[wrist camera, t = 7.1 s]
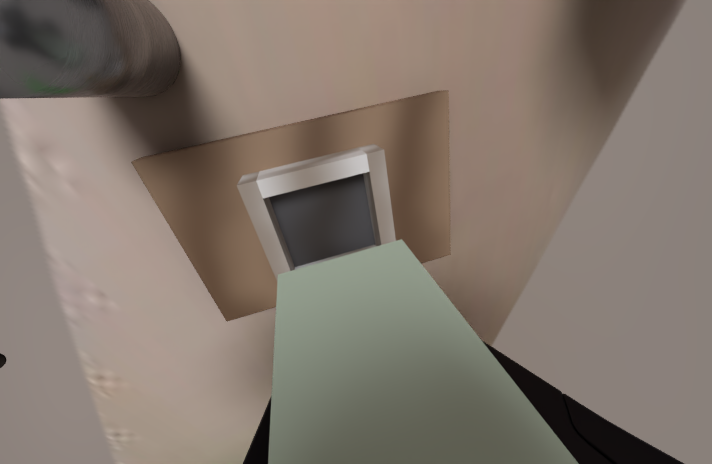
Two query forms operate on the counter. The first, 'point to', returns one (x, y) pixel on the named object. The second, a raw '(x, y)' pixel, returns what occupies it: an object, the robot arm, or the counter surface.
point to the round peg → (85, 49)
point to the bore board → (306, 195)
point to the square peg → (391, 373)
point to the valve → (2, 360)
